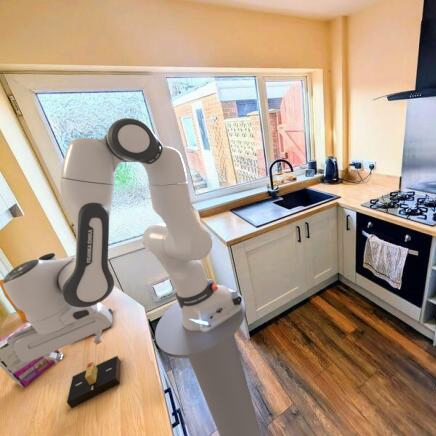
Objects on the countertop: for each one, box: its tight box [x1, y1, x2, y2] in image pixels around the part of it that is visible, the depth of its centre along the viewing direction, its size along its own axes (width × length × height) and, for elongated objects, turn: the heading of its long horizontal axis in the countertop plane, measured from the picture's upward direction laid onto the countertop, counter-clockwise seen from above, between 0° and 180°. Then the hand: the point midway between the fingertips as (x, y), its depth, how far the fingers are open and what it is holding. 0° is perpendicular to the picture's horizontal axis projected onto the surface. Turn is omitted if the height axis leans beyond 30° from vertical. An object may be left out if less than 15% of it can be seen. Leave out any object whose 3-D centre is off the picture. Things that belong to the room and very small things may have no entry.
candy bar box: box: [0, 321, 61, 388], centre depth 80 cm, size 11×5×16 cm, turn 161°
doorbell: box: [73, 308, 113, 344], centre depth 98 cm, size 12×10×4 cm
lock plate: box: [66, 355, 122, 409], centre depth 76 cm, size 12×9×3 cm
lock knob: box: [85, 361, 98, 385], centre depth 74 cm, size 5×1×4 cm, turn 31°
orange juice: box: [0, 278, 28, 323], centre depth 106 cm, size 8×9×20 cm
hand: (80, 350), depth 71 cm, fingers open, 8 cm apart
